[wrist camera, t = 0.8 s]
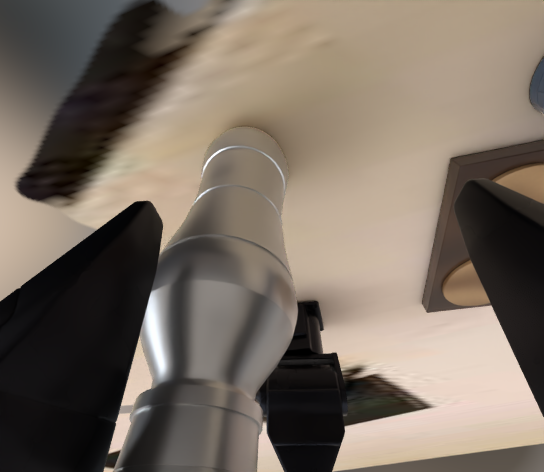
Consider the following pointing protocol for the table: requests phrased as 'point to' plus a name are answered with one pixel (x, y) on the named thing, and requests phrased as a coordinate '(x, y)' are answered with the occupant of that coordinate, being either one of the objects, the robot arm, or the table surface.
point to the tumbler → (538, 88)
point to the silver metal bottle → (216, 316)
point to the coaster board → (448, 241)
